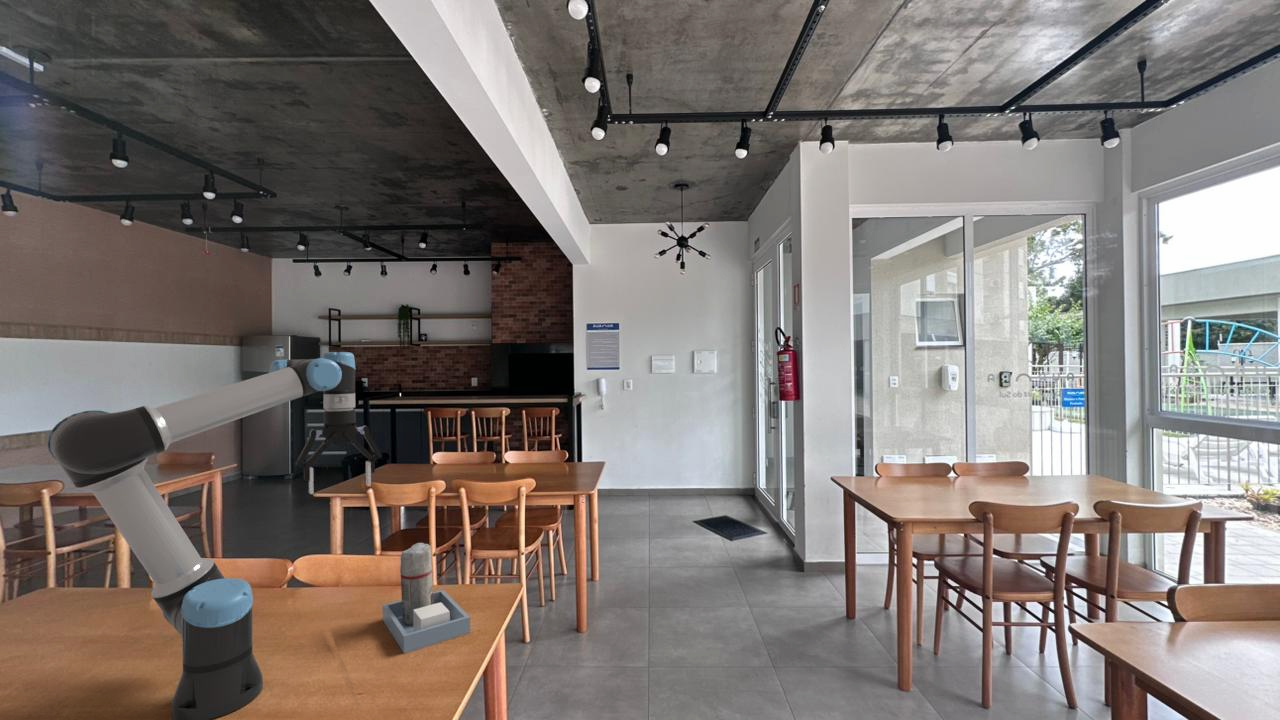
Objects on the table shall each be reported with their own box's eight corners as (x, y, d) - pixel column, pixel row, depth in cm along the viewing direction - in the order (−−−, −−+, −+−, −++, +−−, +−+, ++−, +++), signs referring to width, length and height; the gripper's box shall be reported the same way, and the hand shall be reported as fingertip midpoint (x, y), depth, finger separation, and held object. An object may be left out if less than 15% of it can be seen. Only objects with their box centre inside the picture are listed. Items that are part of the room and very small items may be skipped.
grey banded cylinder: (427, 627, 144) (426, 550, 144) (395, 627, 144) (395, 550, 144) (439, 612, 152) (438, 540, 152) (409, 612, 152) (408, 540, 152)
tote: (404, 657, 131) (404, 636, 131) (382, 623, 148) (382, 605, 148) (470, 636, 140) (470, 617, 140) (442, 607, 158) (442, 589, 158)
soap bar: (421, 644, 135) (421, 619, 135) (413, 633, 141) (413, 609, 141) (450, 635, 139) (449, 611, 139) (441, 625, 145) (441, 602, 145)
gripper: (285, 413, 137) (286, 499, 137) (392, 407, 152) (393, 484, 152) (283, 411, 143) (284, 493, 143) (386, 406, 158) (387, 480, 158)
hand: (340, 489), depth 147 cm, fingers open, 13 cm apart
